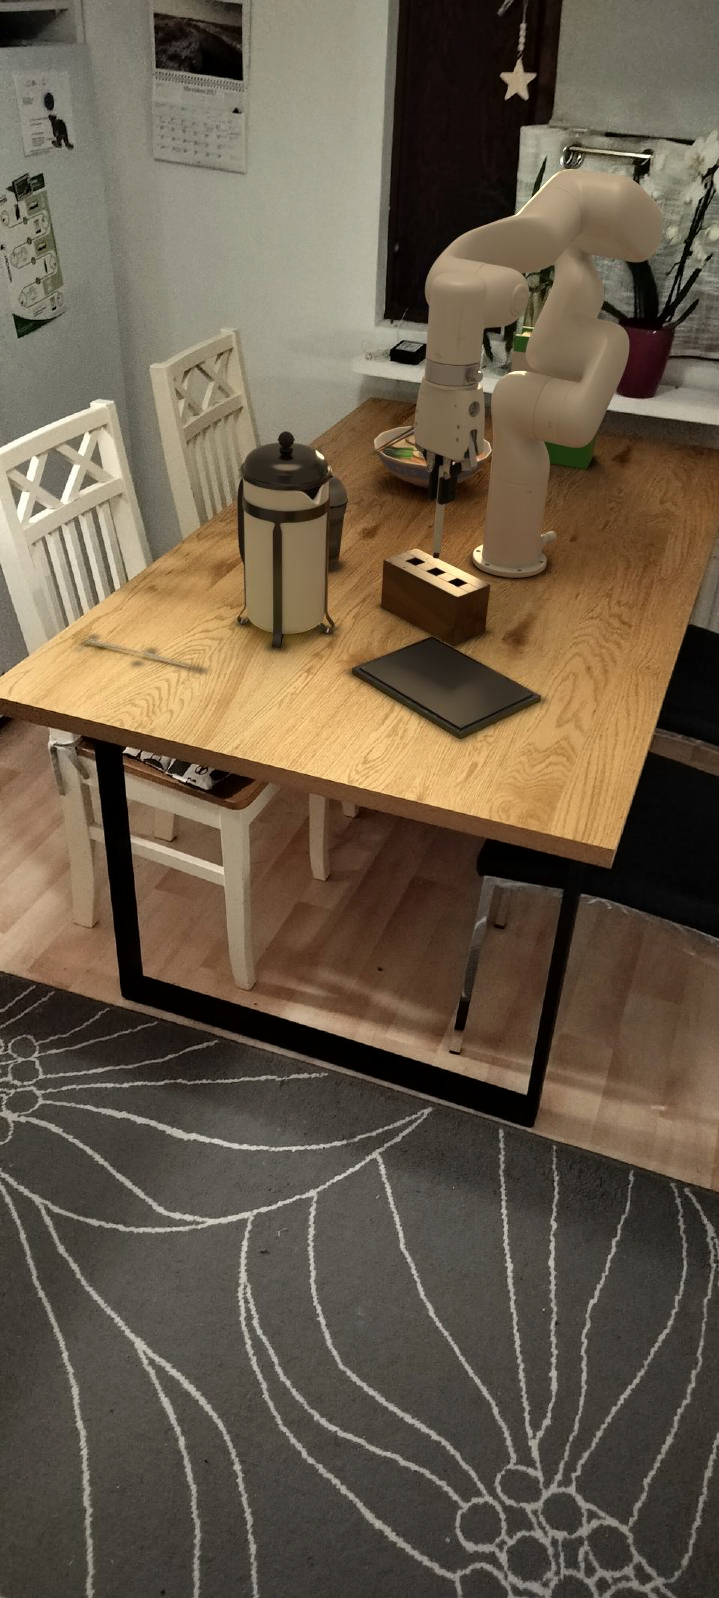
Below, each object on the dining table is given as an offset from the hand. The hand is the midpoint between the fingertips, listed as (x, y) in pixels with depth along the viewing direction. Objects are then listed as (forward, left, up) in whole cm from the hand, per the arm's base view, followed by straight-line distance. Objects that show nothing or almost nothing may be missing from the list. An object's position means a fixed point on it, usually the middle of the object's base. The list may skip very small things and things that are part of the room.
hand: (441, 499), depth 174 cm
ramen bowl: (-40, -42, -20) cm, 61 cm away
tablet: (+13, +16, -20) cm, 28 cm away
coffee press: (+20, -13, -20) cm, 31 cm away
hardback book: (-70, -38, -20) cm, 82 cm away
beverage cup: (+1, -25, -20) cm, 32 cm away
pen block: (0, 0, -20) cm, 20 cm away
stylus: (+42, -17, -20) cm, 49 cm away
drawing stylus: (0, 0, -9) cm, 9 cm away
